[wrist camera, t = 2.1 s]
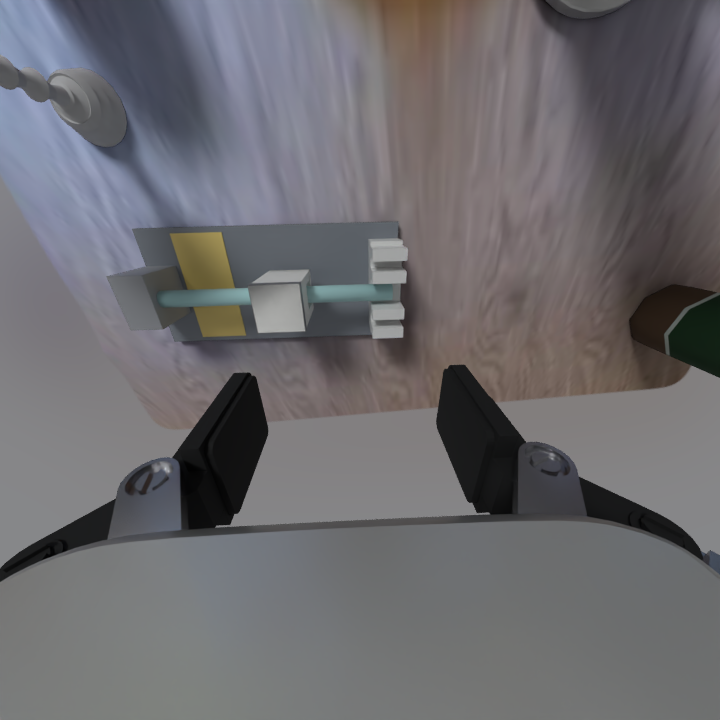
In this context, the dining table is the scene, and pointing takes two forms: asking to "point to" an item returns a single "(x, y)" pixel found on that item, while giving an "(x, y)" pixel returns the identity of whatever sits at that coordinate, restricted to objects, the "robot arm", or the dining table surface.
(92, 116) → the chalice
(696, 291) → the beer bottle
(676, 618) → the robot arm
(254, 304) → the sleeve
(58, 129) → the dining table surface
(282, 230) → the cable rig
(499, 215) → the dining table surface
